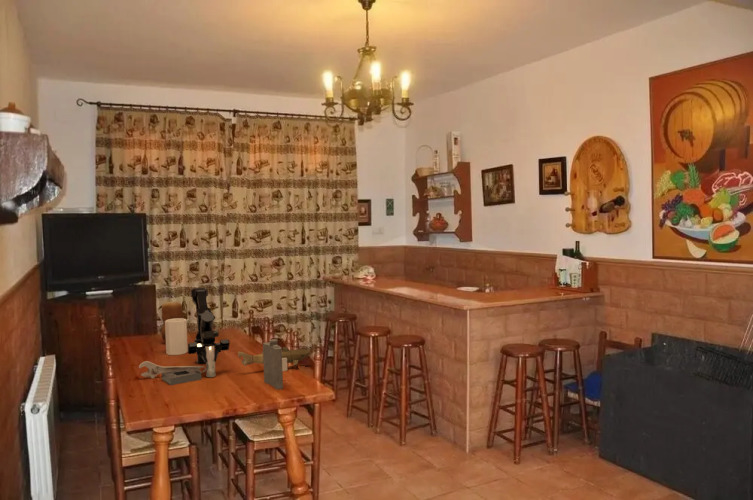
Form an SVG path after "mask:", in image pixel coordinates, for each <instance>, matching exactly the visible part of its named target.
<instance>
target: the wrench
mask: <svg viewBox="0 0 753 500" xmlns="http://www.w3.org/2000/svg"><path fill="white" fill-rule="evenodd" d="M143 367H144V368H145V367H146V368H147V371H144V372H142V373H140V376H142V377H144V378H151V380H152V379H155V378H156V376H158V375H162V373H166V372H172V371H177V370H183V369H189V368H193V369H195V370H197V371H198V372H200V373H201V374H202V373H206V366H204V365H180V366H177V365H176V366H175V365H173V366H171V365H170V366H169V365H168V366H162V365H158V364H156V363H154V362H151V361H148V360H145V361H142V362H141V363H139V365H138V368H139V369H142V368H143ZM202 368H204V370H201V369H202Z"/></svg>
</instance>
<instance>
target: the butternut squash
mask: <svg viewBox="0 0 753 500" xmlns="http://www.w3.org/2000/svg"><path fill="white" fill-rule="evenodd" d="M183 316H184V313H183V307H182V304H181V303H180V302H179V301H165V302H163V304H162V305H161V320H162V322H163V325H162V327H161V337H162V340H163V341H165V342H166V335H165V321H166V320H168V319H175V318H183V319H184V317H183Z"/></svg>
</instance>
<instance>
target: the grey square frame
mask: <svg viewBox="0 0 753 500" xmlns="http://www.w3.org/2000/svg"><path fill="white" fill-rule="evenodd" d="M161 380H162V381H163V382H165V383H167V384H169V385H170V386H172V385H173V386H174V385H179V384H185V383H189V382H190V383H191V382H194V381H200V380H202V373H200V372H198V371H197V370H195V369H193V368H189V369H183V370H177V371H172V372H166V373H161Z"/></svg>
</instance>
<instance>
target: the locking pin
mask: <svg viewBox="0 0 753 500" xmlns="http://www.w3.org/2000/svg"><path fill="white" fill-rule="evenodd" d="M205 350H206V363H205V369H206V370H205V373H206V374H205V375H206V377H207V378H213V377H216V362H215V348H214V345H209V346H205Z"/></svg>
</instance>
